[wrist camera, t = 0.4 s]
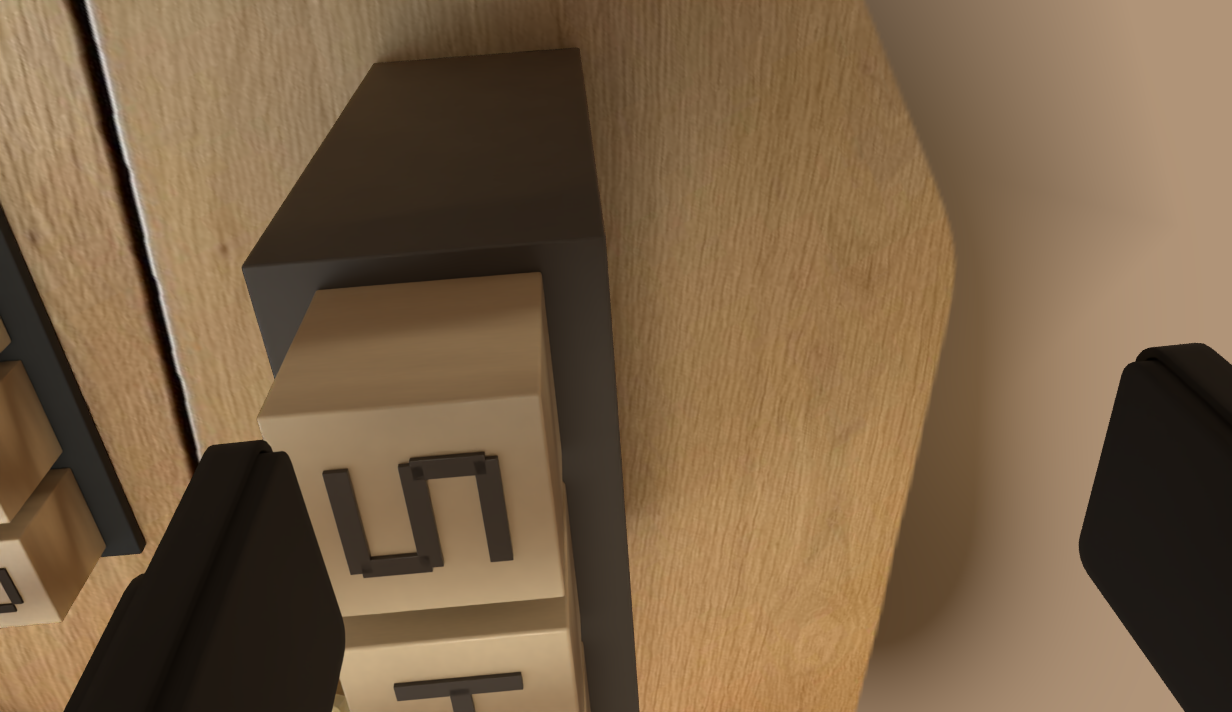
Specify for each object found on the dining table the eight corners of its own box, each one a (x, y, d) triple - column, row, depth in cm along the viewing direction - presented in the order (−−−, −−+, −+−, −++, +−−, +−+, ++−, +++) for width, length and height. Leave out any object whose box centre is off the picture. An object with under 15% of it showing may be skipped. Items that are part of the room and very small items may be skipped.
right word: (373, 62, 31) (154, 396, 14) (579, 47, 32) (622, 356, 14) (463, 535, 42) (406, 1056, 25) (616, 521, 42) (666, 1028, 25)
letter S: (315, 289, 18) (252, 422, 14) (541, 270, 18) (540, 397, 14) (360, 468, 20) (318, 625, 16) (561, 450, 20) (565, 602, 17)
